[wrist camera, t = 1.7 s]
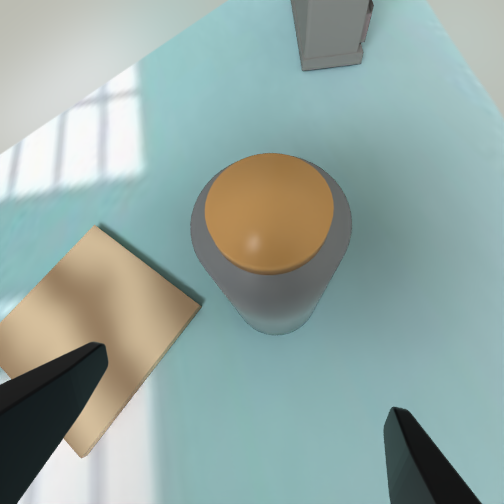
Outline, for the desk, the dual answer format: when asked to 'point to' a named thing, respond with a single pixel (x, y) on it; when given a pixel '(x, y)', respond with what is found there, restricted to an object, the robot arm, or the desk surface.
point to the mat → (97, 325)
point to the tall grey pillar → (331, 31)
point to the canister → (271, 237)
